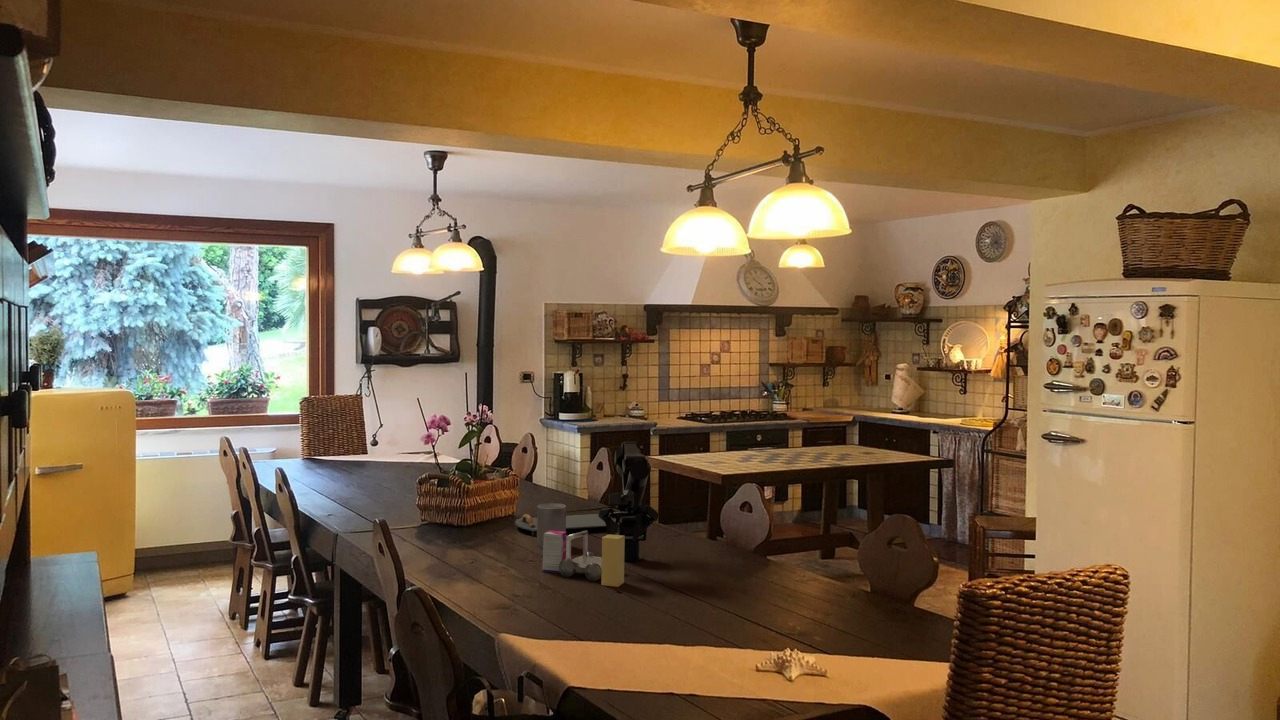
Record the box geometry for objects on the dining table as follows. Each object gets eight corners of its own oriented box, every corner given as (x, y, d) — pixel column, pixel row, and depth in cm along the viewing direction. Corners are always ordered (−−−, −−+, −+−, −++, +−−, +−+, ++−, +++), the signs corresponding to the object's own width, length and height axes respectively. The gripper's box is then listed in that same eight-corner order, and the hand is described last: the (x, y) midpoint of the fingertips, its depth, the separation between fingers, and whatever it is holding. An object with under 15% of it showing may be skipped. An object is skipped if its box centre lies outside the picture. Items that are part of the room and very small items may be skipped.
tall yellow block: (607, 580, 275) (608, 534, 275) (623, 582, 274) (624, 535, 274) (601, 585, 271) (602, 537, 270) (617, 586, 269) (618, 539, 269)
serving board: (525, 538, 334) (525, 521, 334) (508, 526, 355) (508, 510, 355) (628, 531, 349) (628, 515, 349) (605, 520, 370) (606, 504, 370)
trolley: (583, 566, 292) (583, 528, 292) (622, 573, 285) (623, 533, 285) (558, 575, 280) (559, 536, 280) (599, 582, 274) (599, 541, 273)
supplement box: (561, 573, 284) (561, 534, 284) (541, 571, 285) (542, 533, 285) (566, 568, 290) (567, 530, 289) (547, 567, 291) (548, 529, 290)
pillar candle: (540, 542, 326) (540, 498, 326) (568, 543, 325) (568, 499, 325) (534, 549, 316) (534, 504, 316) (563, 550, 315) (563, 504, 315)
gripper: (594, 483, 289) (580, 530, 281) (643, 478, 278) (630, 526, 270) (615, 500, 296) (603, 547, 288) (664, 496, 285) (652, 544, 277)
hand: (621, 540), depth 280 cm, fingers open, 9 cm apart
